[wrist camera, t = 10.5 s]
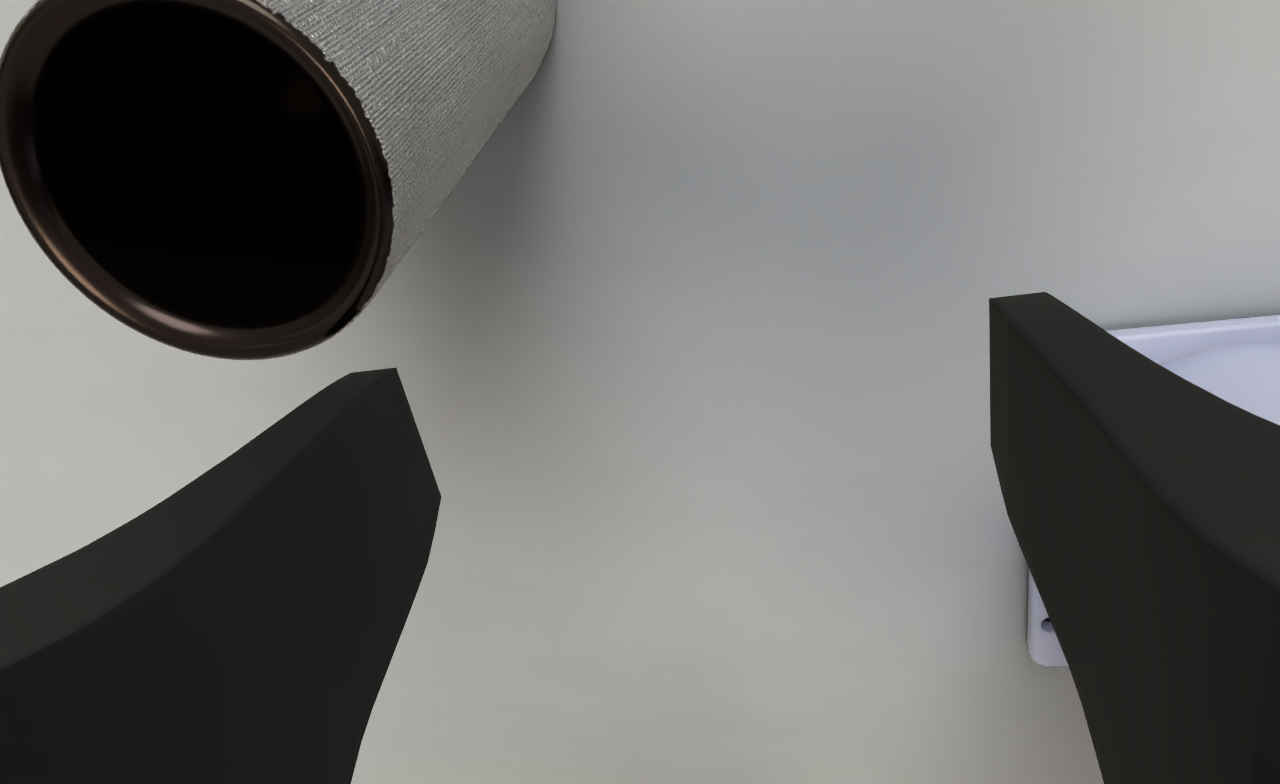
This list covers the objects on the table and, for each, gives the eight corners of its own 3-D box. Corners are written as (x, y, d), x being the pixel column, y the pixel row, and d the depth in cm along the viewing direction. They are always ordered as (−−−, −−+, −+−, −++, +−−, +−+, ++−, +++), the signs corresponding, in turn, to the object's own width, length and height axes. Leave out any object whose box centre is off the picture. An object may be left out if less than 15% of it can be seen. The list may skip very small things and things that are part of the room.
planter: (321, 84, 21) (11, 317, 13) (331, -162, 19) (-45, -84, 10) (539, 135, 21) (378, 401, 13) (576, -103, 19) (410, 24, 10)
